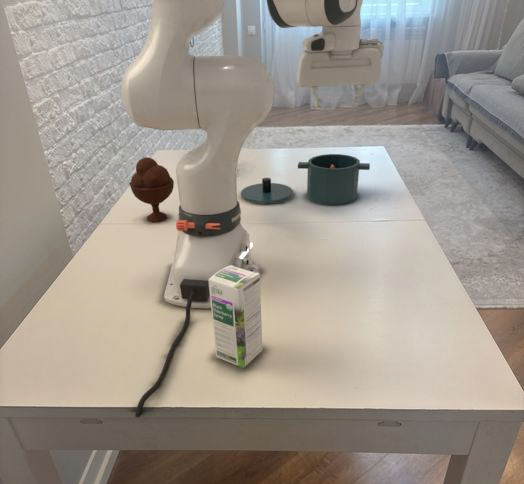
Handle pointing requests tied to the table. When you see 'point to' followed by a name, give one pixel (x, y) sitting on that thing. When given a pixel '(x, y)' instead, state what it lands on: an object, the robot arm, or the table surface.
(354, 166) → the pot
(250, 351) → the syrup box
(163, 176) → the ice cream bowl
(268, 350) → the table surface
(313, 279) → the table surface
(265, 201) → the lid
